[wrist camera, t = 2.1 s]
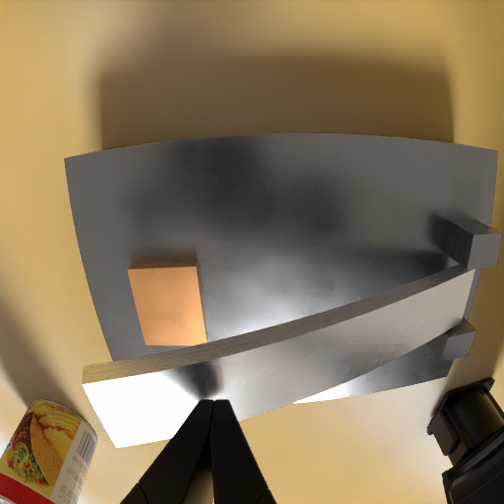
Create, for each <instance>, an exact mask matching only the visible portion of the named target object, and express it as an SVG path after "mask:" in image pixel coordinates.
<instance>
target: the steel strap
mask: <svg viewBox="0 0 504 504" xmlns="http://www.w3.org/2000/svg"><path fill="white" fill-rule="evenodd" d="M474 272H475V269H470V270H467V269H465V268H464V267H463V266H461V265H460V264H458V265H455V266H453V267H450V268H448V269H445V270H443V271H440V272H437V273H435V274H432V275H430V276H427V277H424V278H422V279H419V280H416V281H413V282H411V283H408V284H405V285H402V286H400V287H397V288H394V289H391V290H388V291H385V292H382V293H379V294H376V295H374V296H371V297H368V298H365V299H361V300H358V301H355V302H352V303H349V304H346V305H343V306H340V307H336V308H333V309H330V310H327V311H323V312H320V313H317V314H313V315H310V316H307V317H303V318H300V319H296V320H293V321H289V322H286V323H282V324H278V325H275V326H271V327H267V328H264V329H260V330H256V331H252V332H248V333H244V334H240V335H236V336H232V337H228V338H224V339H220V340H216V341H212V342H207V343H203V344H198V345H194V346H189V347H185V348H180V349H176V350H171V351H166V352H161V353H156V354H151V355H146V356H141V357H135V358H130V359H124V360H119V361H113V362H107V363H101V364H94V365H88V366H84V368H83V380H82V385H83V387H84V389H85V391H86V393H87V395H88V397H89V399H90V401H91V403H92V405H93V407H94V409H95V411H96V412H97V414H98V416H99V418H100V420H101V421H102V423H103V425H104V427H105V428H106V430H107V432H108V433H109V435H110V437H111V438H112V440H113V442H114V443H115V445H116V447H121V446H128V445H134V444H141V443H146V442H152V441H158V440H163V439H168V438H172V437H173V435H174V434H175V433H176V431H177V430H178V429H179V427H180V426H181V424H182V423H183V422H184V420H185V419H186V418H187V416H188V415H189V414H190V412H191V411H192V409H193V408H194V407H195V405H196V404H197V403H198V401H199V400H201V399H213V400H214V401H215V400H216V399H228V400H229V401H230V403H231V405H232V408H233V410H234V413H235V415H236V417H237V420H238V421H241V420H244V419H247V418H251V417H254V416H257V415H260V414H263V413H266V412H270V411H273V410H276V409H278V408H281V407H284V406H287V405H290V404H293V403H295V402H298V401H301V400H304V399H306V398H309V397H311V396H314V395H317V394H319V393H322V392H324V391H327V390H329V389H332V388H334V387H336V386H339V385H341V384H343V383H346V382H348V381H350V380H353V379H355V378H357V377H359V376H361V375H364V374H366V373H368V372H370V371H372V370H374V369H376V368H379V367H381V366H383V365H385V364H387V363H389V362H391V361H393V360H395V359H397V358H399V357H401V356H403V355H404V354H406V353H408V352H410V351H412V350H414V349H416V348H418V347H419V346H421V345H423V344H425V343H427V342H428V341H430V340H432V339H434V338H435V337H437V336H439V335H441V334H442V333H444V332H446V331H447V330H449V329H451V328H452V327H454V326H456V325H457V324H459V323H460V322H461V320H462V317H463V314H464V310H465V307H466V303H467V300H468V296H469V292H470V288H471V284H472V280H473V276H474Z"/></svg>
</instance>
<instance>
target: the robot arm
mask: <svg viewBox="0 0 504 504" xmlns="http://www.w3.org/2000/svg"><path fill="white" fill-rule="evenodd" d="M494 382H495V380H494V379H493V378H492V377H491V378H489V379H486V380H483V381H480V382H477V383H474V384H471V385H468V386H465V387H462V388H459V389H456V390H453V391H450V392H448V393H447V394H446V395H445V397H444V399H443V401H442V403H441V405H440V407H439V409H438V411H437V413H436V415H435V417H434V419H433V421H432V423H431V424H430V426H429V428H428V430H427V433H428V435H432V434H434V436H435V438H436V440H437V442H438V444H439V446H440V448H441V451H442V453H443V455H444V456H448V457H449V459H450V461H451V463H452V465H453V467H452V468H450V469H449V470H446V471H445V472H443V473H442V478H443V485H444V490H445V494H446V499H447V504H504V412H503V411H502V409H501V408H500V406H499V405H498V403H497V402H496V401H495V399H494V398H493V396H492V395H491V393H490V392H489V391H490V390H491V388H492V386H493V384H494ZM213 496H214V504H277V503H276V501H275V499H274V497H273V495H272V493H271V491H270V490H269V487H268V485H267V483H266V481H265V479H264V477H263V475H262V473H261V471H260V469H259V466H258V464H257V462H256V460H255V458H254V456H253V453H252V451H251V449H250V447H249V445H248V442H247V440H246V438H245V436H244V433H243V431H242V429H241V427H240V424H239V422H238V420H237V417H236V415H235V413H234V410H233V408H232V405H231V403H230V401H229V400H228V399H216V400H215V401H214V400H213V399H201V400H199V401H198V403H197V404H196V405H195V407H194V408H193V409H192V411H191V412H190V414H189V415H188V416H187V418H186V419H185V420H184V422H183V423H182V424H181V426H180V427H179V429H178V430H177V431H176V433H175V434H174V435H173V437H172V438H171V439H170V441H169V442H168V443H167V445H166V446H165V447H164V449H163V450H162V451H161V453H160V454H159V455H158V456H157V458H156V459H155V460H154V462H153V463H152V464H151V466H150V467H149V468H148V469H147V471H146V472H145V473H144V475H143V476H142V477H141V478H140V480H139V483H136V485H135V486H134V487H133V488H132V490H131V491H130V492H129V493H128V495H127V496H126V497H125V498H124V499H123V500H122V502H121V503H120V504H212V503H213Z"/></svg>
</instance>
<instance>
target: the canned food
mask: <svg viewBox="0 0 504 504" xmlns="http://www.w3.org/2000/svg"><path fill="white" fill-rule="evenodd" d="M97 443H98V438H97V436H96V433H95V431H94V430H93V429H92V428H91V426H90V425H89V424H88V423H87V422H86V421H85V420H84V419H83V418H81V417H80V416H79V415H77V414H76V413H75V412H73V411H71V410H70V409H68V408H66V407H65V406H62V405H60V404H58V403H56V402H53V401H50V400H46V399H37V400H34V401H33V402H32V403H31V405H30V406H29V408H28V410H27V412H26V413H25V415H24V417H23V418H22V420H21V422H20V424H19V425H18V427H17V429H16V431H15V433H14V434H13V436H12V438H11V440H10V442H9V444H8V445H7V447H6V449H5V451H4V453H3V455H2V457H1V459H0V504H77V501H78V498H79V495H80V492H81V489H82V486H83V483H84V480H85V477H86V474H87V471H88V468H89V465H90V462H91V460H92V457H93V454H94V451H95V448H96V446H97Z"/></svg>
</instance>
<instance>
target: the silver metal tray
mask: <svg viewBox="0 0 504 504" xmlns="http://www.w3.org/2000/svg"><path fill="white" fill-rule="evenodd" d="M497 152H498V151H495V150H490V149H485V148H480V147H474V146H469V145H463V144H456V143H450V142H442V141H434V140H426V139H416V138H406V137H395V136H382V135H365V134H343V133H263V134H240V135H223V136H210V137H198V138H187V139H178V140H169V141H160V142H152V143H145V144H138V145H131V146H124V147H118V148H112V149H106V150H100V151H95V152H90V153H86V154H81V155H77V156H72V157H68V158H64V161H65V169H66V177H67V184H68V191H69V197H70V203H71V209H72V215H73V220H74V225H75V231H76V235H77V240H78V245H79V249H80V254H81V258H82V262H83V266H84V270H85V274H86V278H87V282H88V285H89V289H90V293H91V296H92V300H93V303H94V306H95V310H96V313H97V316H98V319H99V323H100V326H101V329H102V332H103V335H104V338H105V341H106V344H107V346H108V349H109V352H110V355H111V357H112V360H113V361H119V360H124V359H130V358H135V357H141V356H146V355H151V354H156V353H161V352H166V351H171V350H176V349H180V348H185V347H189V346H194V345H198V344H203V343H207V342H212V341H216V340H220V339H224V338H228V337H232V336H236V335H240V334H244V333H248V332H252V331H256V330H260V329H264V328H267V327H271V326H275V325H278V324H282V323H286V322H289V321H293V320H296V319H300V318H303V317H307V316H310V315H313V314H317V313H320V312H323V311H327V310H330V309H333V308H336V307H340V306H343V305H346V304H349V303H352V302H355V301H358V300H361V299H365V298H368V297H371V296H374V295H376V294H379V293H382V292H385V291H388V290H391V289H394V288H397V287H400V286H402V285H405V284H408V283H411V282H413V281H416V280H419V279H422V278H424V277H427V276H430V275H432V274H435V273H437V272H440V271H443V270H445V269H448V268H450V267H453V266H455V265H458V264H460V265H461V266H463V267H464V268H465V269H467V270H470V269H475V272H474V276H473V280H472V284H471V288H470V292H469V296H468V300H467V303H466V307H465V310H464V314H463V317H462V320H461V322H460V323H459V324H457V325H456V326H454V327H452V328H451V329H449V330H447V331H446V332H444V333H442V334H441V335H439V336H437V337H435V338H434V339H432V340H430V341H428V342H427V343H425V344H423V345H421V346H419V347H418V348H416V349H414V350H412V351H410V352H408V353H406V354H404V355H403V356H401V357H399V358H397V359H395V360H393V361H391V362H389V363H387V364H385V365H383V366H381V367H379V368H376V369H374V370H372V371H370V372H368V373H366V374H364V375H361V376H359V377H357V378H355V379H353V380H350V381H348V382H346V383H343V384H341V385H339V386H336V387H334V388H332V389H329V390H327V391H324V392H322V393H319V394H317V395H314V396H311V397H309V398H306V399H304V400H301V401H298V402H295V403H300V402H310V401H319V400H328V399H336V398H343V397H350V396H356V395H363V394H369V393H374V392H380V391H385V390H390V389H395V388H400V387H405V386H409V385H414V384H418V383H422V382H427V381H431V380H435V379H439V378H442V377H446V376H447V375H448V372H449V370H450V368H451V365H452V363H453V360H454V359H455V358H459V357H463V356H466V355H468V353H469V351H470V348H471V346H472V343H473V340H474V338H475V335H476V332H477V330H476V329H475V328H474V327H473V326H472V325H471V324H470V323H469V322H468V321H467V320H468V317H469V314H470V311H471V307H472V304H473V301H474V297H475V293H476V290H477V286H478V282H479V278H480V274H481V270H482V268H488V267H496V264H497V260H498V255H499V250H500V246H501V241H502V235H503V234H502V233H500V232H499V231H497V230H495V229H493V228H491V227H490V223H491V216H492V209H493V201H494V193H495V183H496V170H497Z"/></svg>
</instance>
